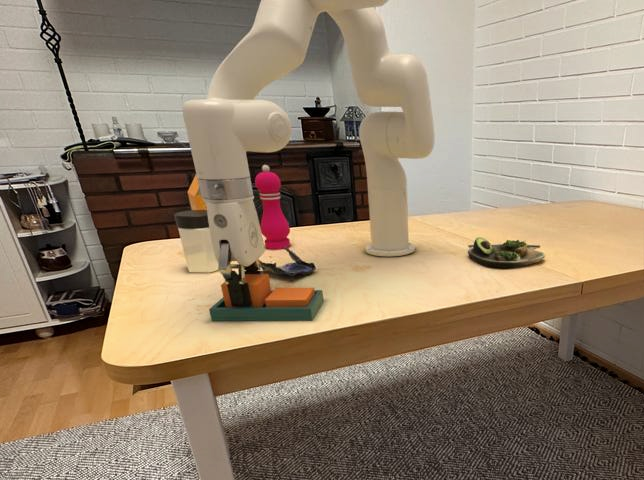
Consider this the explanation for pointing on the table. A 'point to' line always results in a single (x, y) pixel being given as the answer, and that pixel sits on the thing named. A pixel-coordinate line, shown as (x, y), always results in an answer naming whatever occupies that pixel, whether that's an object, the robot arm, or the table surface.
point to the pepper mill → (272, 210)
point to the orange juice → (196, 196)
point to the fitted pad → (290, 297)
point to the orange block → (252, 289)
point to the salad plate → (504, 253)
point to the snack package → (290, 266)
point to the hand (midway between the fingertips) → (248, 298)
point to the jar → (196, 240)
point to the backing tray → (266, 311)
